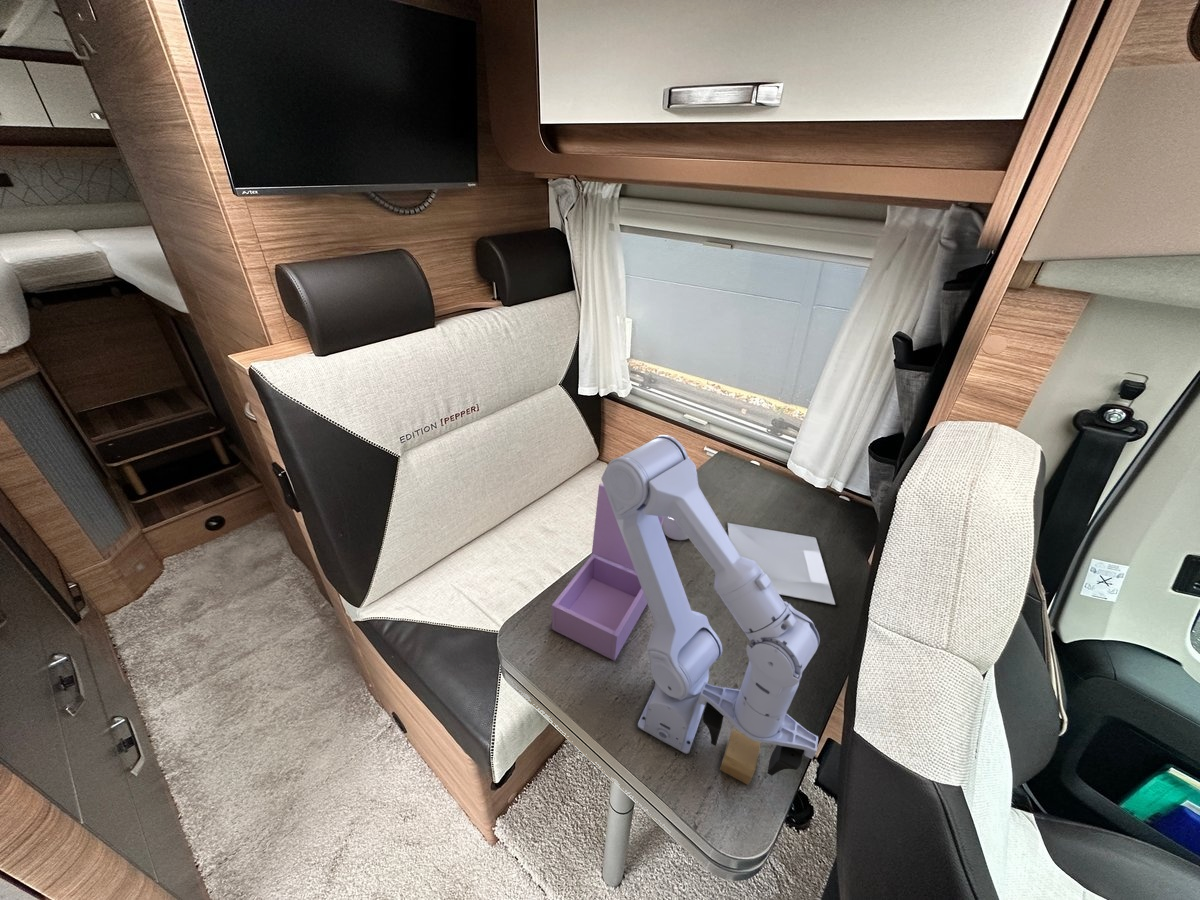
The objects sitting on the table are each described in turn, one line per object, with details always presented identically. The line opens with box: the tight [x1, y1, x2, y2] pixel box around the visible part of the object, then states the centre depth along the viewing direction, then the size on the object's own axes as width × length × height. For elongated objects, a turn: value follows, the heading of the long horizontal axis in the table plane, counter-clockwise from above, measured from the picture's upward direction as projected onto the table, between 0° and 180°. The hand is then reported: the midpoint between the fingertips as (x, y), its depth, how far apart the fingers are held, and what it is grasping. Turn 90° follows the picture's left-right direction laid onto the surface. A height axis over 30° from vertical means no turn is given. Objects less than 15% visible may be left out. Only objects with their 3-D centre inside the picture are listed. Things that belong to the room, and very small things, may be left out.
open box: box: [551, 553, 648, 662], centre depth 85 cm, size 15×13×6 cm
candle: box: [662, 517, 689, 541], centre depth 107 cm, size 9×9×6 cm
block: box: [719, 728, 762, 786], centre depth 65 cm, size 4×4×4 cm
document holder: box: [727, 522, 836, 606], centre depth 101 cm, size 20×1×20 cm
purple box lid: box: [591, 483, 663, 572], centre depth 85 cm, size 16×13×1 cm
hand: (742, 752), depth 64 cm, fingers open, 7 cm apart
